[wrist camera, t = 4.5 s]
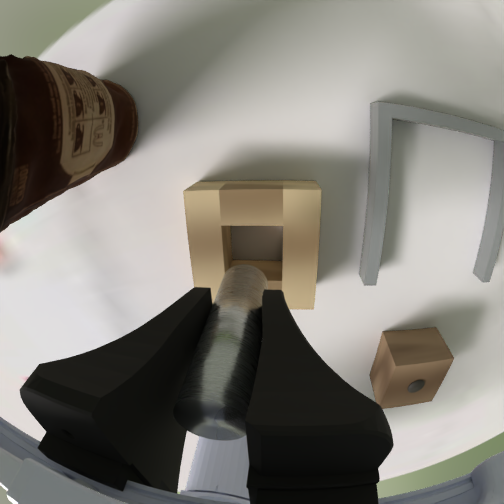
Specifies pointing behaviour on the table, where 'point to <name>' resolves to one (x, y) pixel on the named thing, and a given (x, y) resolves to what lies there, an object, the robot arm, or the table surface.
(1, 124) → the coffee cup
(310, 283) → the oak block
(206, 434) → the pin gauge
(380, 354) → the walnut block
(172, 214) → the table surface
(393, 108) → the grey arch piece
